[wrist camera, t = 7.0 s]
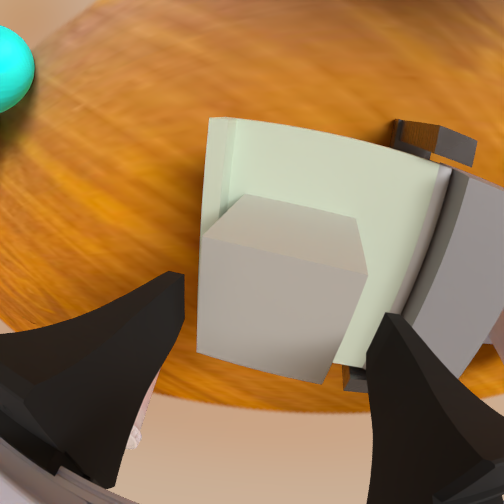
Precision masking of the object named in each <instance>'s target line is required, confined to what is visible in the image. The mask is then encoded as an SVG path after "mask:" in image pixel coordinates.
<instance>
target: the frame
mask: <svg viewBox="0 0 504 504" xmlns="http://www.w3.org/2000/svg"><path fill="white" fill-rule="evenodd" d="M476 146H477V141H476V140H474V139H472V138H469V137H467V136H465V135H462V134H460V133H458V132H455V131H453V130H450V129H448V128H445V127H442V126H440V125H433V124H427V123H420V122H412V121H404V120H400V119H395V121H394V127H393V132H392V137H391V142H390V147H389V148H392V149H395V150H399V151H402V152H406V153H409V154H412V155H415V156H419V157H422V158H425V159H428V160H430V155H431V152H432V153H435V154H438V155H440V156H443V157H446V158H449V159H452V160H454V161H457V162H459V163H462V164H465V165H467V166H470V167H472V164H473V160H474V155H475V150H476ZM342 373H343V391H352V392H363V393H368V387H367V379H366V370H365V369H363V368H360V367H354V366H348V365H343V364H342Z"/></svg>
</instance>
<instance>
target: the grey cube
mask: <svg viewBox="0 0 504 504" xmlns="http://www.w3.org/2000/svg"><path fill="white" fill-rule="evenodd" d="M367 278H368V270H367V266H366V261H365V256H364V251H363V247H362V243H361V238H360V234H359V230H358V226H357V222H356V218H352V217H348V216H344V215H340V214H336V213H332V212H328V211H324V210H319V209H315V208H311V207H306V206H302V205H297V204H293V203H288V202H284V201H279V200H274V199H269V198H265V197H260V196H255V195H250V194H244V195H243V196H242V197H241V198H240V199H239V200H238V201H237V202H236V203H235V204H234V205H233V206H232V207H231V208H230V209H229V210H228V211H227V212H226V213H225V214H224V215H223V216H222V217H221V218H220V219H219V220H218V221H217V222H216V223H215V224H214V225H213V226H212V227H211V228H210V229H209V230H208V231H207V232H206V233H205V234H204V235H203V236H202V243H201V259H200V277H199V298H198V324H197V352H198V353H201V354H204V355H207V356H210V357H214V358H217V359H220V360H224V361H227V362H231V363H234V364H238V365H241V366H245V367H249V368H252V369H256V370H260V371H264V372H268V373H272V374H276V375H280V376H285V377H289V378H293V379H298V380H302V381H307V382H312V383H317V384H322V383H323V381H324V379H325V377H326V375H327V373H328V371H329V369H330V366H331V364H332V362H333V360H334V358H335V356H336V353H337V351H338V349H339V347H340V345H341V342H342V340H343V338H344V335H345V333H346V331H347V328H348V326H349V324H350V321H351V319H352V316H353V314H354V311H355V309H356V306H357V304H358V301H359V299H360V296H361V294H362V291H363V288H364V286H365V283H366V280H367Z"/></svg>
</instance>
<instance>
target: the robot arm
mask: <svg viewBox="0 0 504 504" xmlns="http://www.w3.org/2000/svg"><path fill="white" fill-rule="evenodd" d="M184 319H185V311H184V274H180V273H175V272H171V271H168V272H166V273H164V274H162V275H160V276H158V277H156V278H155V279H153V280H151V281H149V282H148V283H146V284H144V285H142V286H141V287H139V288H137V289H135V290H133V291H132V292H130V293H128V294H126V295H124V296H122V297H120V298H118V299H116V300H114V301H112V302H110V303H108V304H106V305H105V306H102V307H100V308H98V309H96V310H93V311H91V312H89V313H86V314H84V315H81V316H78V317H76V318H73V319H70V320H66V321H63V322H60V323H57V324H53V325H50V326H46V327H42V328H37V329H33V330H27V331H22V332H15V333H6V334H0V504H139V503H136V502H133V501H131V500H129V499H126V498H124V497H121V496H119V495H117V494H115V493H112V492H110V491H108V490H106V489H109V488H112V487H114V486H115V483H116V479H117V475H118V472H119V468H120V464H121V461H122V457H123V454H124V451H125V448H126V445H127V442H128V439H129V436H130V433H131V430H132V428H133V425H134V422H135V420H136V417H137V414H138V412H139V410H140V407H141V405H142V402H143V400H144V397H145V395H146V393H147V391H148V389H149V387H150V385H151V384H152V382H153V380H154V378H155V377H156V375H157V373H158V371H159V370H160V368H161V366H162V364H163V363H164V361H165V359H166V357H167V356H168V354H169V352H170V350H171V349H172V347H173V345H174V343H175V341H176V339H177V337H178V334H179V332H180V329H181V327H182V324H183V322H184ZM483 343H484V344H493V345H494V347H495V349H496V351H497V353H498V355H499V356H500V358H501V360H502V362H503V364H504V308H503V310H502V312H501V314H500V315H499V317H498V319H497V321H496V323H495V324H494V326H493V328H492V329H491V331H490V333H489V334H488V336H487V337H486V339H485V341H484V342H483ZM366 379H367V387H368V395H369V402H370V410H371V419H372V429H373V452H372V453H373V454H372V467H371V478H370V485H369V492H368V498H367V504H504V501H503V499H502V495H503V494H504V416H502V415H500V414H499V413H498V412H496V411H495V410H493V409H492V408H491V407H489V406H488V405H487V404H485V403H484V402H483V401H482V400H480V399H479V398H478V397H477V396H476V395H474V394H473V393H472V392H471V391H470V390H469V389H468V388H467V387H466V386H464V385H463V384H462V383H461V382H460V381H459V380H458V379H457V378H456V377H455V376H454V375H453V374H452V373H451V372H450V371H449V369H448V368H447V367H446V366H445V365H444V364H443V363H442V362H441V361H440V360H439V358H438V357H437V356H436V355H435V354H434V353H433V352H432V350H431V349H430V348H429V347H428V346H427V344H426V343H425V342H424V341H423V340H422V338H421V337H420V336H419V335H418V334H417V333H416V331H415V330H414V329H413V328H412V327H411V325H410V324H409V323H408V322H407V321H406V320H405V319H404V318H403V317H402V316H401V315H400V314H394V313H388V312H385V314H384V316H383V318H382V320H381V323H380V325H379V327H378V329H377V331H376V333H375V336H374V338H373V340H372V342H371V344H370V346H369V348H368V350H367V352H366Z"/></svg>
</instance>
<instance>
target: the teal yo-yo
mask: <svg viewBox="0 0 504 504" xmlns="http://www.w3.org/2000/svg"><path fill="white" fill-rule="evenodd" d="M34 71H35V65H34V59H33V56H32V53H31V50H30V49H29V47H28V46H27V44H26V43H25V41H24V40H23V39H22V38H21V37H19V35H17V34H16V33H15V32H13V31H12V30H10V29H8V28H6V27H4V26H1V25H0V113H2V112H4V111H6V110H8V109H10V108H11V107H13V106H14V105H16V104H17V103H18V102H19V101H20V100H21V99H22V98H23V97H24V96H25V95H26V93H27V92H28V90H29V88H30V86H31V84H32V81H33V78H34Z"/></svg>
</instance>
